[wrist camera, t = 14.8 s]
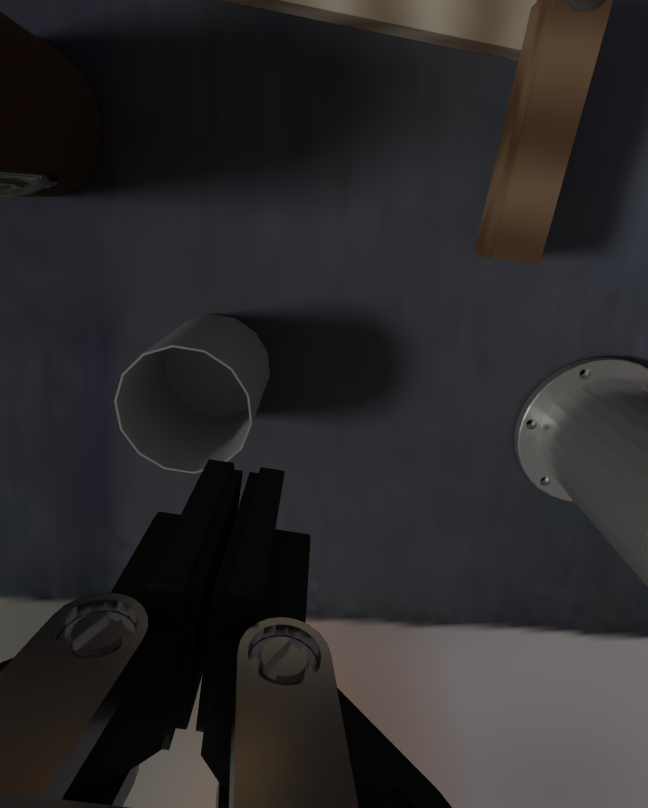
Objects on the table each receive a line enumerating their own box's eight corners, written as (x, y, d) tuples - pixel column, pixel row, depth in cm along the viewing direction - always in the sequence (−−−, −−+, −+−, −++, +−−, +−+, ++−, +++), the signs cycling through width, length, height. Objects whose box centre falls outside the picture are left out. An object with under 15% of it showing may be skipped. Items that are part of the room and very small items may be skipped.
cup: (273, 413, 42) (257, 470, 32) (174, 418, 42) (130, 476, 32) (263, 311, 39) (242, 341, 29) (157, 316, 39) (102, 348, 29)
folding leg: (537, -20, 29) (568, -55, 25) (587, -12, 29) (625, -45, 25) (473, 253, 34) (491, 257, 31) (516, 259, 35) (539, 264, 31)
